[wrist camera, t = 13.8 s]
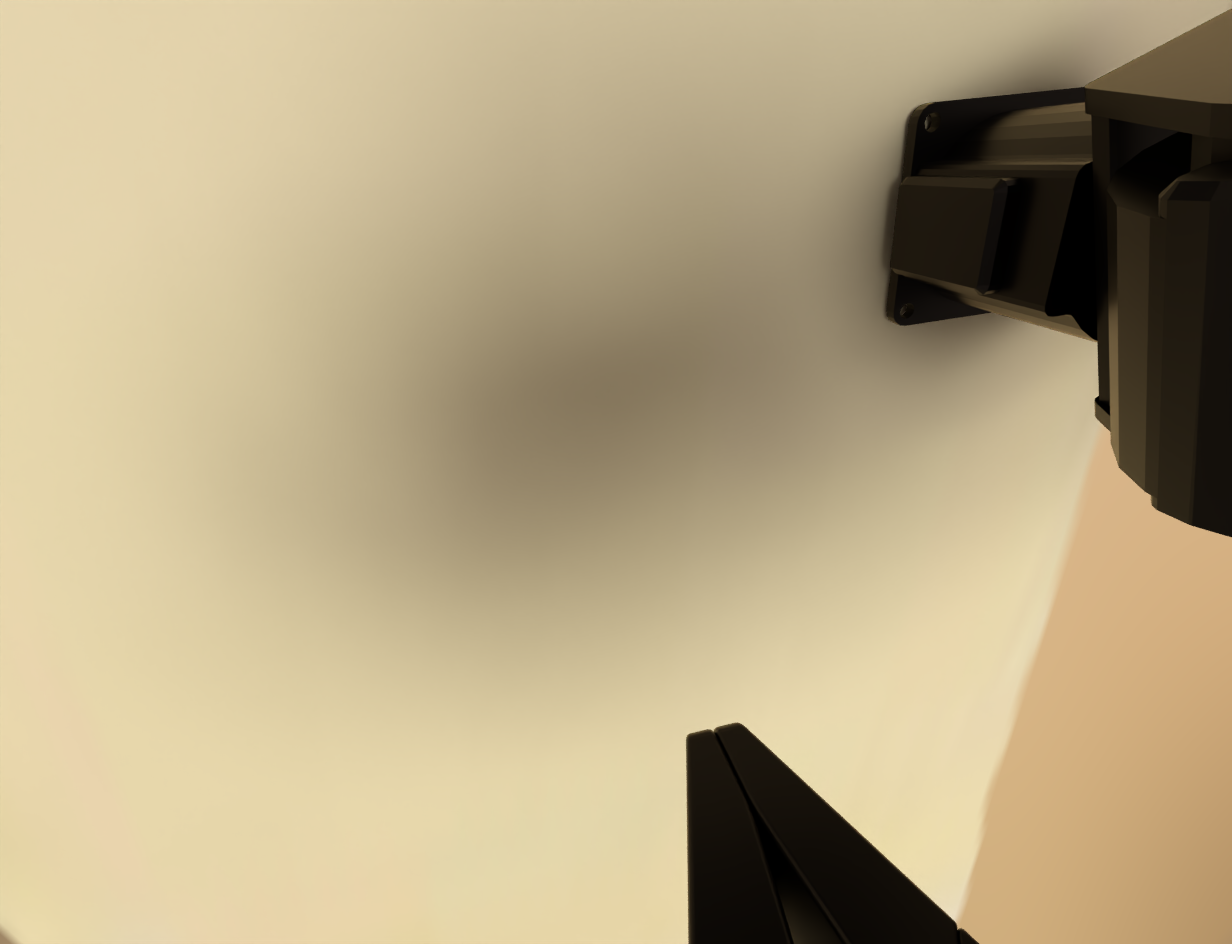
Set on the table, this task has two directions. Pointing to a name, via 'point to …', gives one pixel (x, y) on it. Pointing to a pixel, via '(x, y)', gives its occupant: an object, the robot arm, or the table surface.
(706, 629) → the table surface
